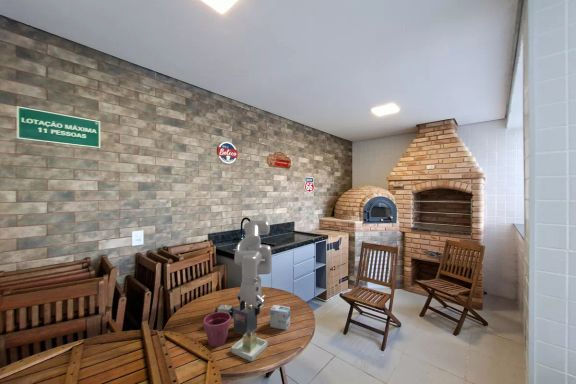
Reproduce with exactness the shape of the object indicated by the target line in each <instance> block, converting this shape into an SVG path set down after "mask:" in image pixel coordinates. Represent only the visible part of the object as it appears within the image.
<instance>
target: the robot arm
mask: <svg viewBox="0 0 576 384" xmlns="http://www.w3.org/2000/svg"><path fill="white" fill-rule="evenodd" d="M243 230H244V233H245V234H244V235H245V237H244V238H242V240H240V241H239V242H238V243H237V245H236V247H235V251H234V263H235V264H236V265H237V266H241V268H242V269H241V272H242V273H241V274H242V275H241V276H242V278H241V279H242V280H241V283H240V290H239V291H237V292H236V293H235V294H236V296H237V297H236V298H237V299H238V303H239V305H240V311H242V310H243V309H245V302H246V303H247V304H252V305H253V306H255V307H256V308H255V316H257V317H258V315H260V312H261V308H263V307H264V302H265V297H266V295H262V279H261V277H260V276H259V275H270V274H271V272H272V248H271V246H270V245H268V244H261V243H262V242H261V237H260V236H261V235H262V236H263V235H264V236H266V235H269V234H270V232H271V231H270V230H271V226H270V223H269V221H267V220H250V221H248V222H245V223H244V225H243ZM247 249H248V250H247Z"/></svg>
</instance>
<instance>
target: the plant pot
mask: <svg viewBox="0 0 576 384" xmlns="http://www.w3.org/2000/svg"><path fill="white" fill-rule="evenodd" d="M231 324H232V319H231V316H230V314H228V313H226V312H216V313H215V312H212V313H209V314H208V315H206V316H205V317H204V319H203V330H205V334H206V335H205V336H206V339H207V342H208V345H209V346H211V347H214V348H215V347H221V346H223V345H224V344H226V341H227V337H228V332H229V330H230V329H229V328H230V325H231Z"/></svg>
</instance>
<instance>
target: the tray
mask: <svg viewBox="0 0 576 384" xmlns="http://www.w3.org/2000/svg"><path fill="white" fill-rule="evenodd" d="M268 347H269V341H268V340H265V339H262V338H260V337H257V347H256V348H255V349H254V350H252V351H251V352H249V351H246V350H244V349H243V337H241V339H239V340H238V341H237V342H235V344H233V345H232V346H231V347H230V353H232V354H234V355H237V356H238V357H241V358H243V359H244V360H247V361H249V362H251V363H252V362H253V361H254V360H255V359H256V358H258V357H259V355H260V354H261V353H263V352H264V350H265V349H267V348H268Z"/></svg>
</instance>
